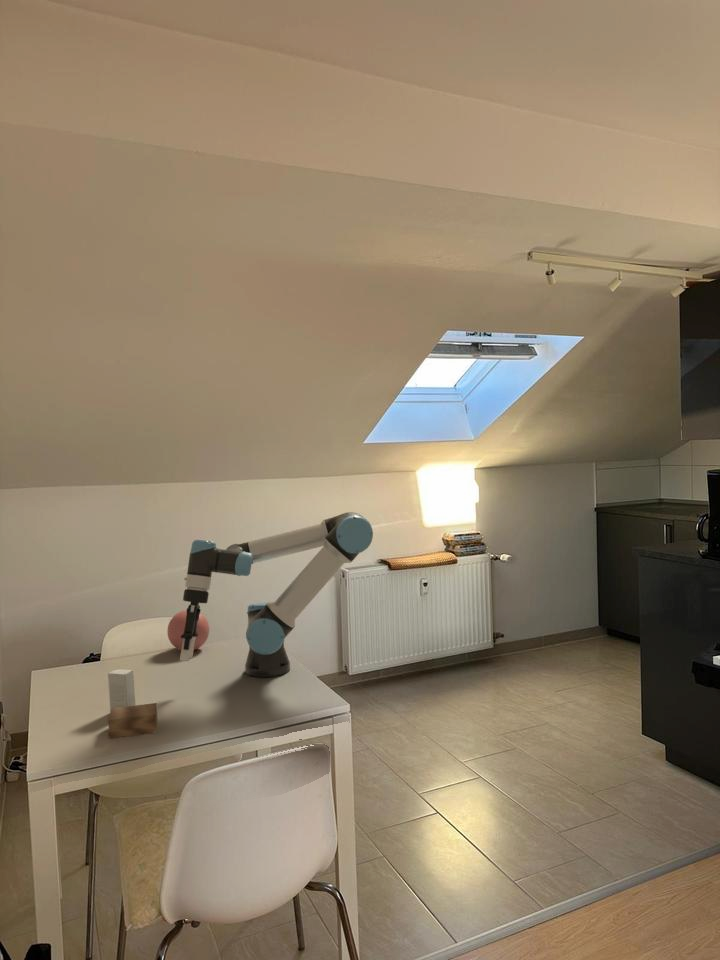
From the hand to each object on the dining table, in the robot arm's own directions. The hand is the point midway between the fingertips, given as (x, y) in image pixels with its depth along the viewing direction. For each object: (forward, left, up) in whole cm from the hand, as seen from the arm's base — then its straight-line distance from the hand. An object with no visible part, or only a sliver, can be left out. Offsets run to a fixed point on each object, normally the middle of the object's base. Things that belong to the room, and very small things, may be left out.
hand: (186, 659), depth 222 cm
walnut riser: (+15, +22, -12) cm, 29 cm away
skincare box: (+19, +7, -12) cm, 23 cm away
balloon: (-1, -55, -12) cm, 56 cm away
